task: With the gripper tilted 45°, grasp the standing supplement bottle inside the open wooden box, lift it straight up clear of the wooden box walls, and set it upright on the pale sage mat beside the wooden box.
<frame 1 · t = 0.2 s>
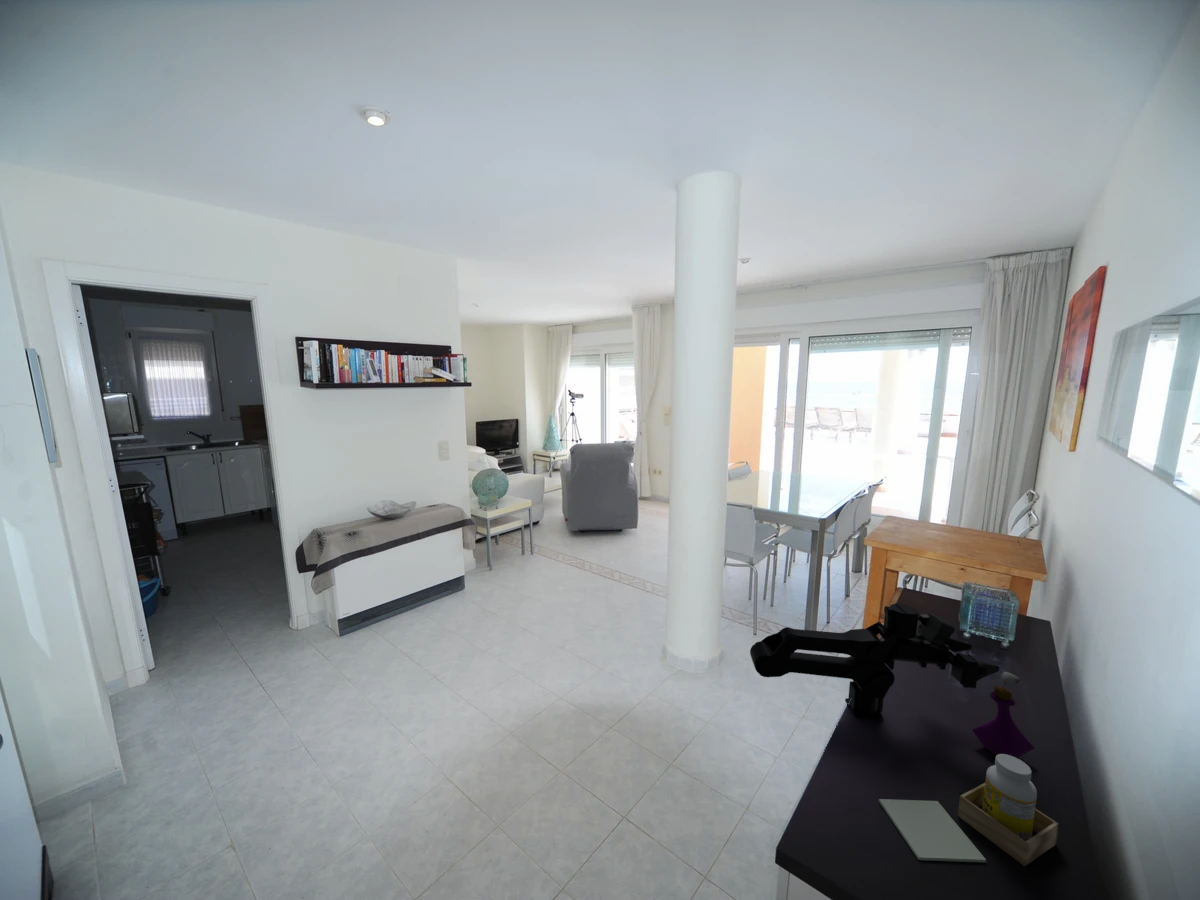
hand: (984, 657, 105), 17 cm above the table, tool horizontal, fingers open, 9 cm apart
perfume bottle: (1000, 753, 98), on the table
sage mat: (928, 829, 80), on the table
supplement bottle: (1005, 830, 80), resting in wooden box
wooden box: (1005, 829, 80), on the table
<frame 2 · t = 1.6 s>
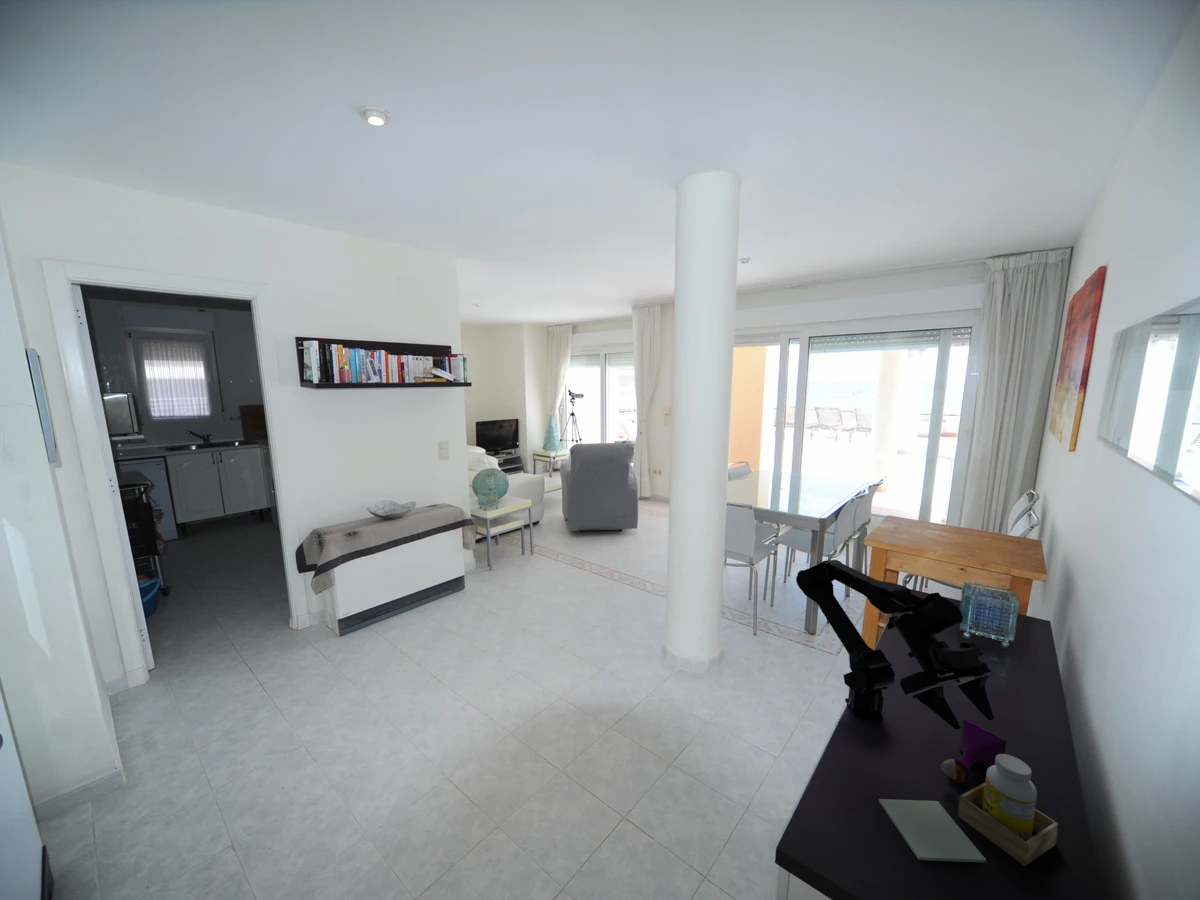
hand: (975, 724, 87), 14 cm above the table, tool tilted 50°, fingers open, 9 cm apart
perfume bottle: (989, 739, 97), point 4 cm above the table
everything else where it was.
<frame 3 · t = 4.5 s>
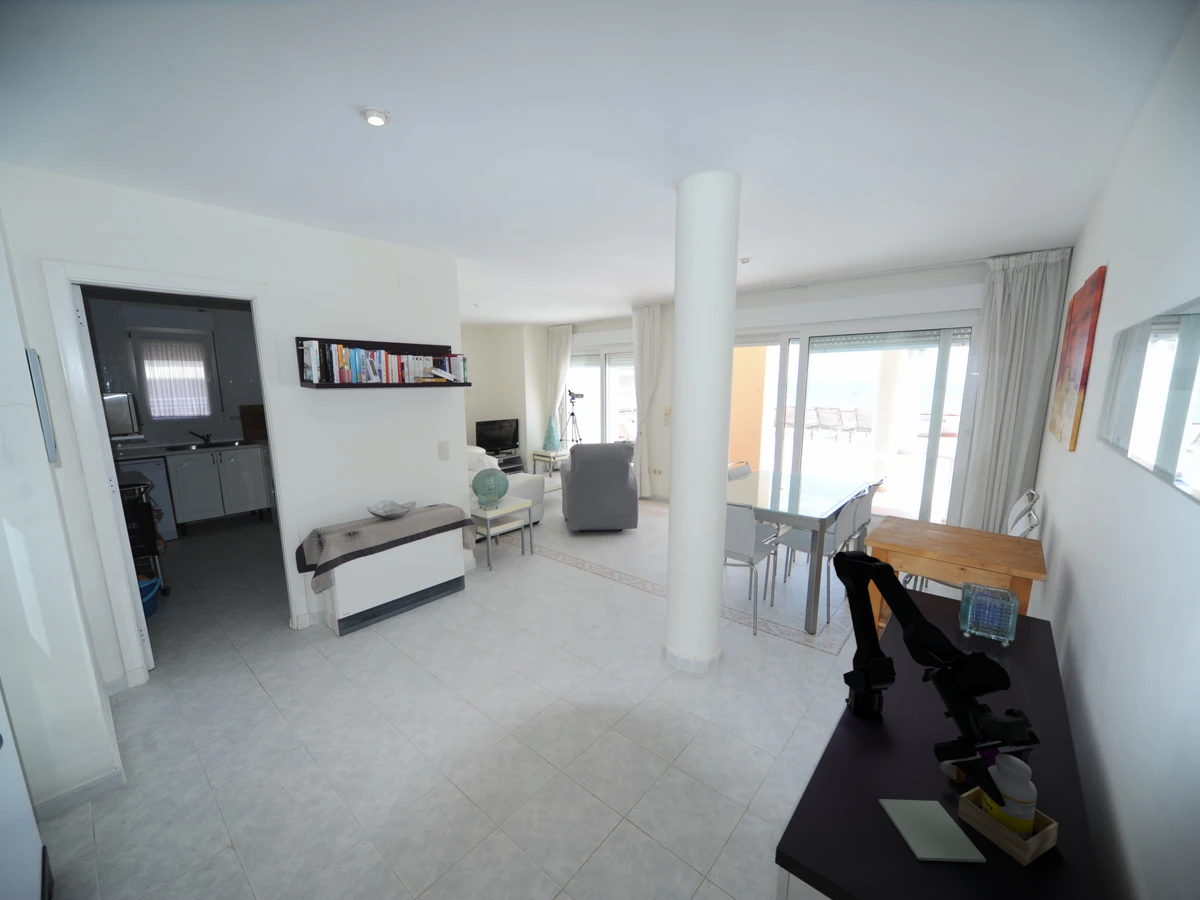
hand: (1018, 802, 78), 7 cm above the table, tool tilted 45°, fingers closed on supplement bottle, 7 cm apart
supplement bottle: (1005, 830, 80), resting in wooden box, touching gripper
everything else where it was.
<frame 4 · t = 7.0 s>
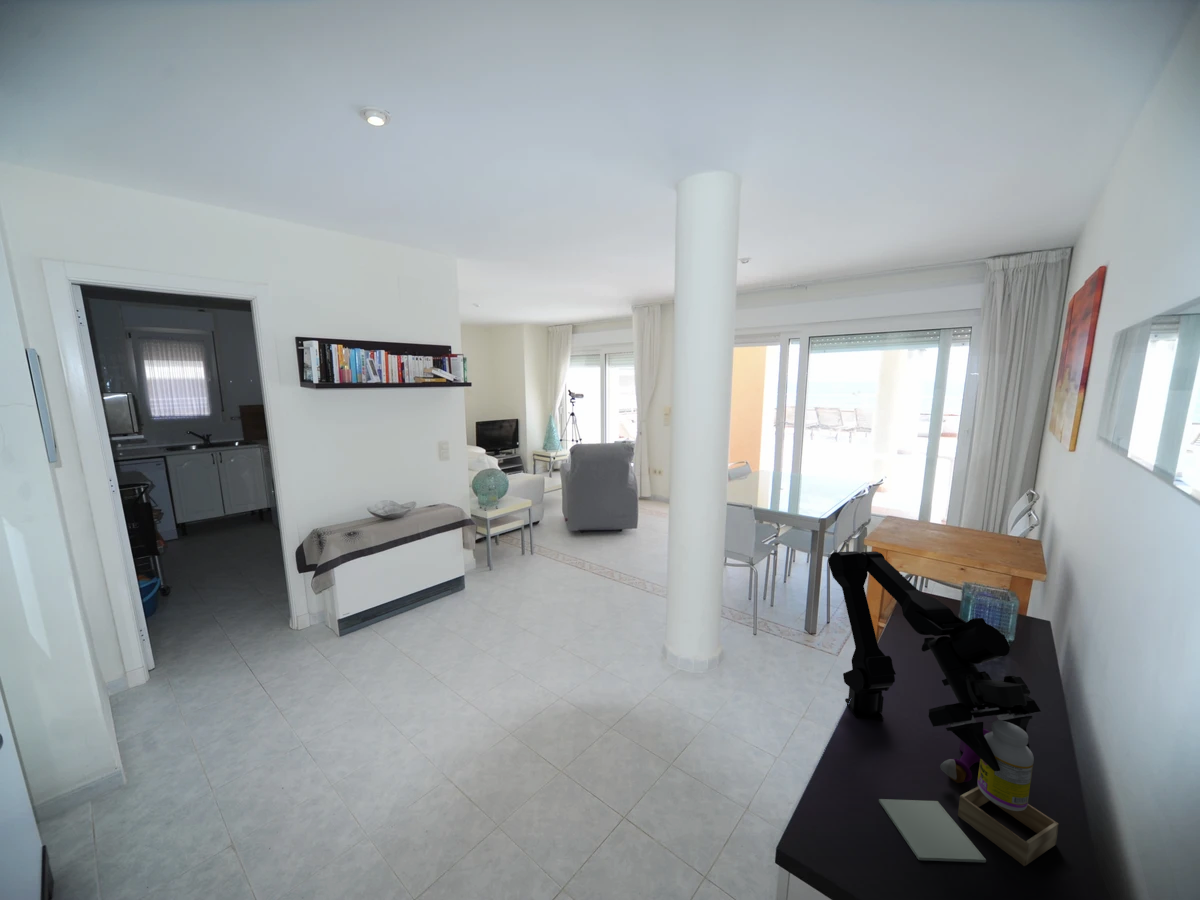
hand: (1014, 768, 77), 13 cm above the table, tool tilted 45°, fingers closed on supplement bottle, 7 cm apart
supplement bottle: (1001, 797, 79), point 6 cm above the table, touching gripper
everything else where it was.
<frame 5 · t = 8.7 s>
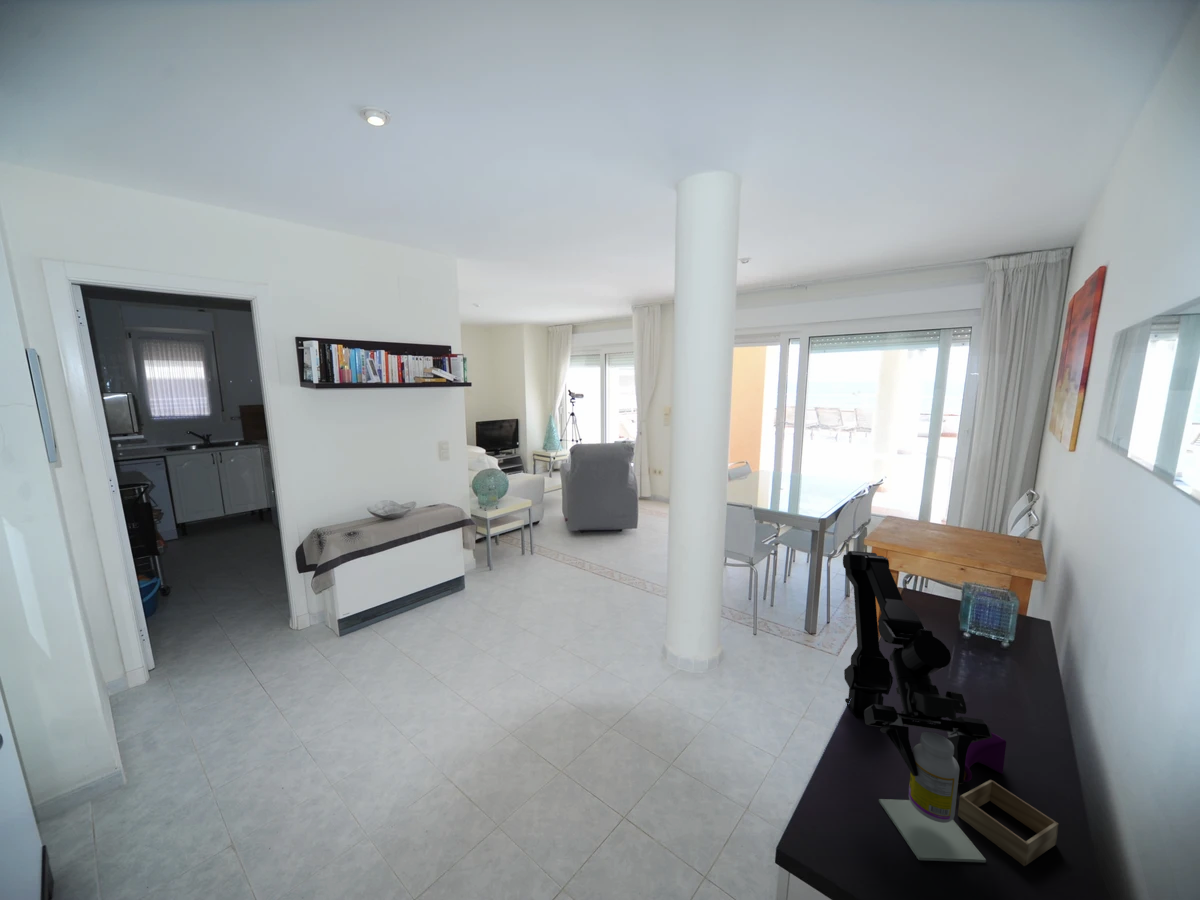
hand: (938, 779, 77), 11 cm above the table, tool tilted 45°, fingers closed on supplement bottle, 7 cm apart
supplement bottle: (930, 808, 79), point 4 cm above the table, touching gripper
everything else where it was.
when the fingers open (8 cm above the table, at t = 9.7 s): supplement bottle drops 1 cm, resting on sage mat.
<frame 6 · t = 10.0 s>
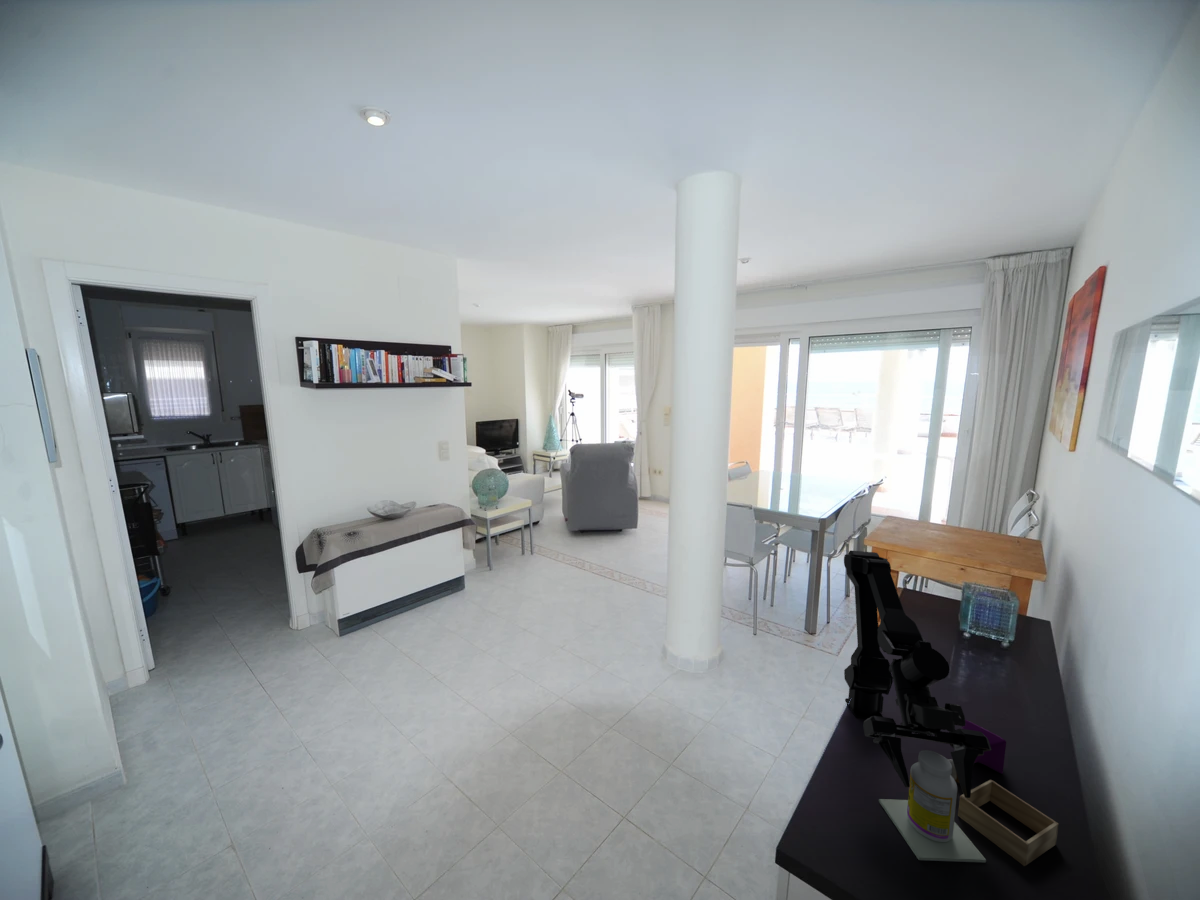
hand: (937, 792, 77), 9 cm above the table, tool tilted 45°, fingers open, 9 cm apart
supplement bottle: (928, 827, 80), resting on sage mat
everything else where it was.
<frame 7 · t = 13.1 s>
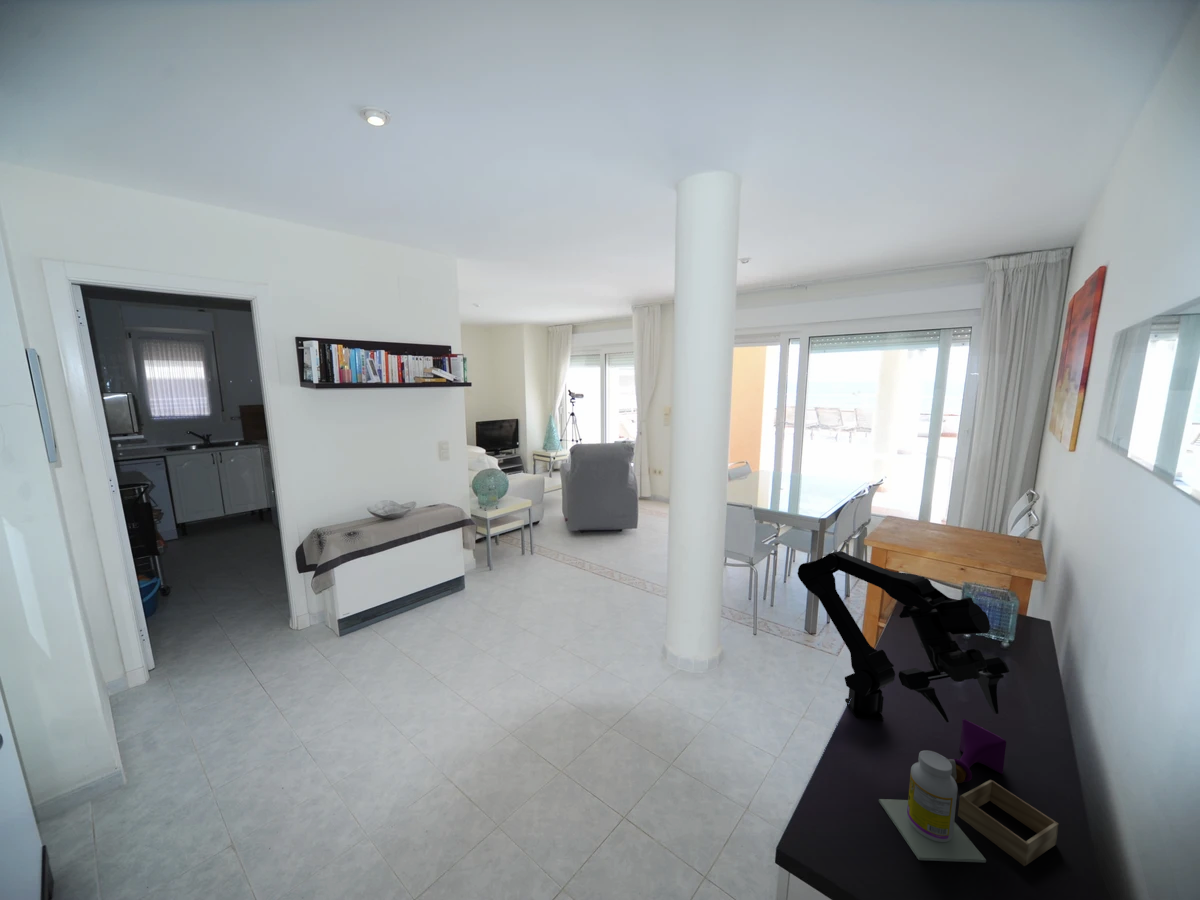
hand: (971, 717, 91), 12 cm above the table, tool tilted 30°, fingers open, 9 cm apart
nothing on the table moved.
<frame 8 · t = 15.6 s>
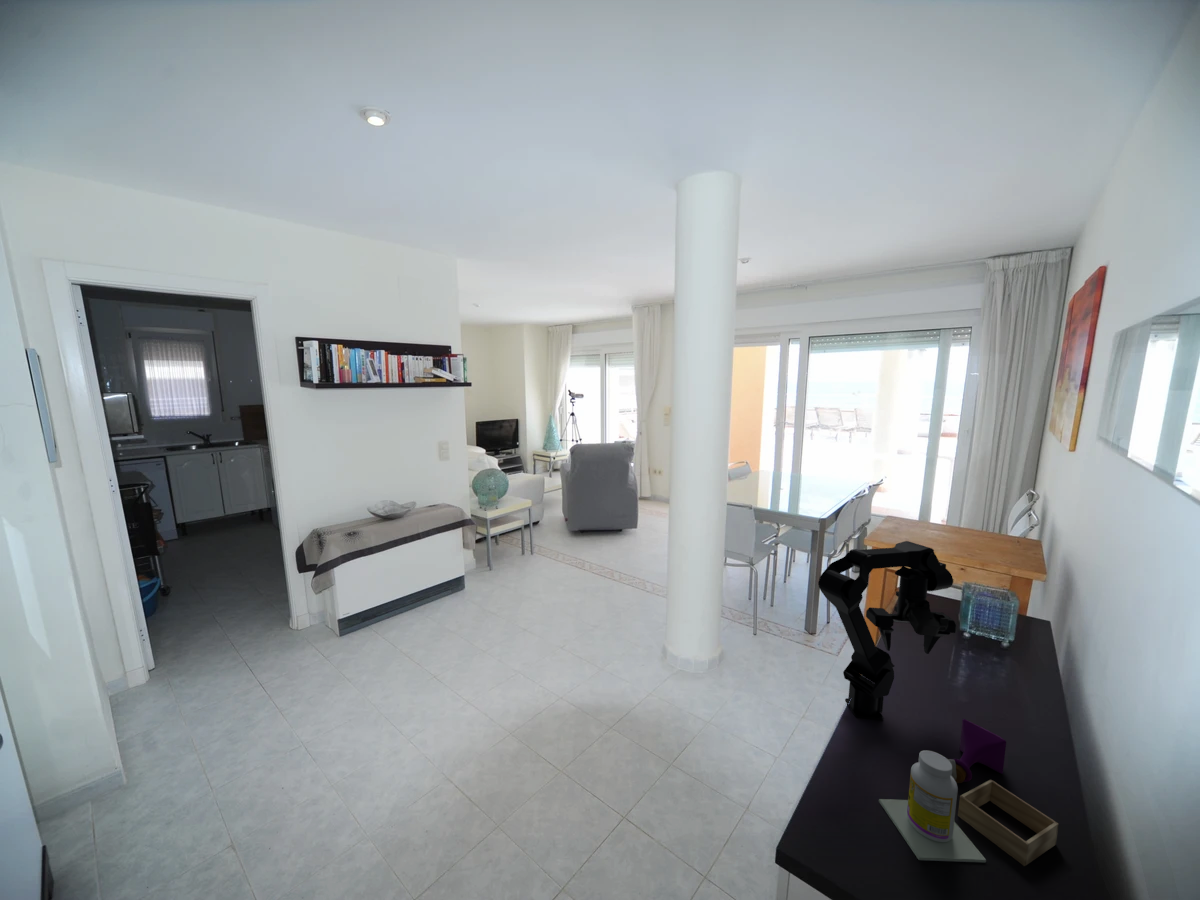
hand: (907, 651, 114), 13 cm above the table, tool pointing down, fingers open, 9 cm apart
nothing on the table moved.
at the end: supplement bottle inside the target area on the sage mat (0.2 cm from its centre), point 0.3 cm above the sage mat's base; supplement bottle tilted 0°; the gripper is holding nothing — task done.
